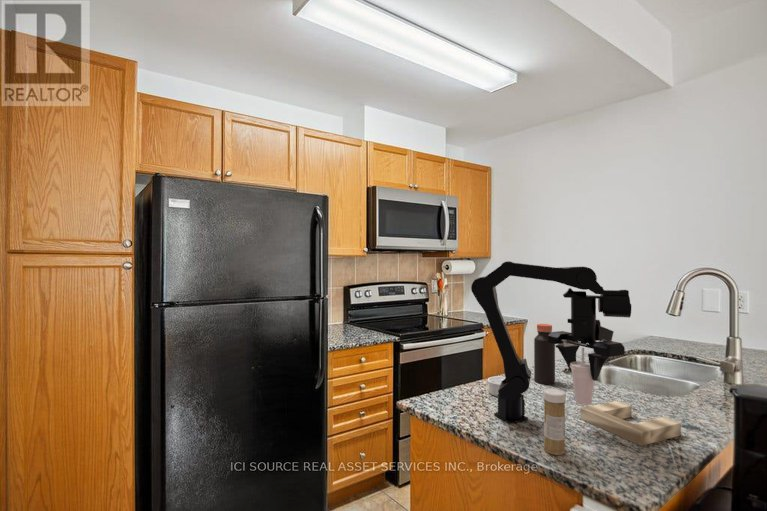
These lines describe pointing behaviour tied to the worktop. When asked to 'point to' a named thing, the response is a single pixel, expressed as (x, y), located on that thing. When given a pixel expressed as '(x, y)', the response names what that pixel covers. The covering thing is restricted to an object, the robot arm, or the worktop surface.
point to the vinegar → (544, 356)
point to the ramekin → (494, 384)
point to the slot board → (639, 433)
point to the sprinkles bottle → (554, 421)
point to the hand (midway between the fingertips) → (583, 376)
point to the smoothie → (582, 381)
